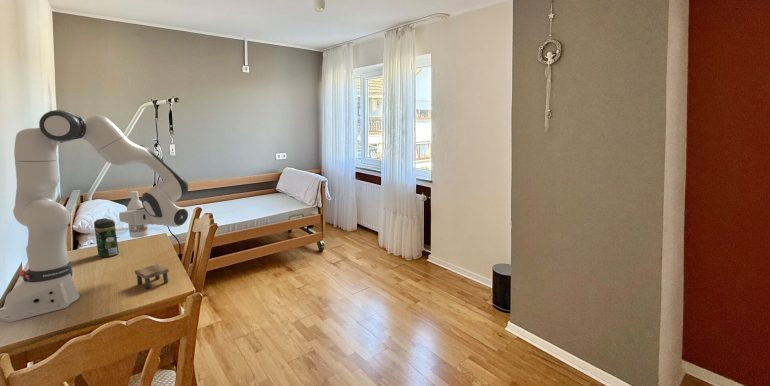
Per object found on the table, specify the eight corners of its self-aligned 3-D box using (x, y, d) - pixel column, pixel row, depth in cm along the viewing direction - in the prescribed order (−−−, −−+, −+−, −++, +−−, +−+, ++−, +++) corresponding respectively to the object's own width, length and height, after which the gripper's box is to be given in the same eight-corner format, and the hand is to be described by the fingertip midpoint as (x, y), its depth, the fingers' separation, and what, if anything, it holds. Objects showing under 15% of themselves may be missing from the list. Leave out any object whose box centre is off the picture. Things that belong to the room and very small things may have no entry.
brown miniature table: (146, 289, 154) (145, 275, 153) (136, 284, 159) (134, 270, 158) (169, 282, 161) (168, 268, 160) (159, 277, 166) (157, 264, 165)
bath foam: (144, 237, 167) (138, 192, 164) (126, 238, 166) (121, 193, 163) (151, 233, 174) (146, 190, 171) (134, 234, 173) (129, 190, 170)
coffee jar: (95, 254, 194) (91, 219, 190) (114, 250, 200) (109, 216, 197) (102, 259, 188) (97, 222, 185) (121, 254, 194) (116, 219, 191)
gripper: (177, 202, 172) (156, 200, 177) (131, 211, 153) (110, 208, 159) (178, 216, 173) (158, 213, 178) (133, 226, 154) (111, 223, 160)
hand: (135, 211), depth 169 cm, fingers closed on bath foam, 7 cm apart
